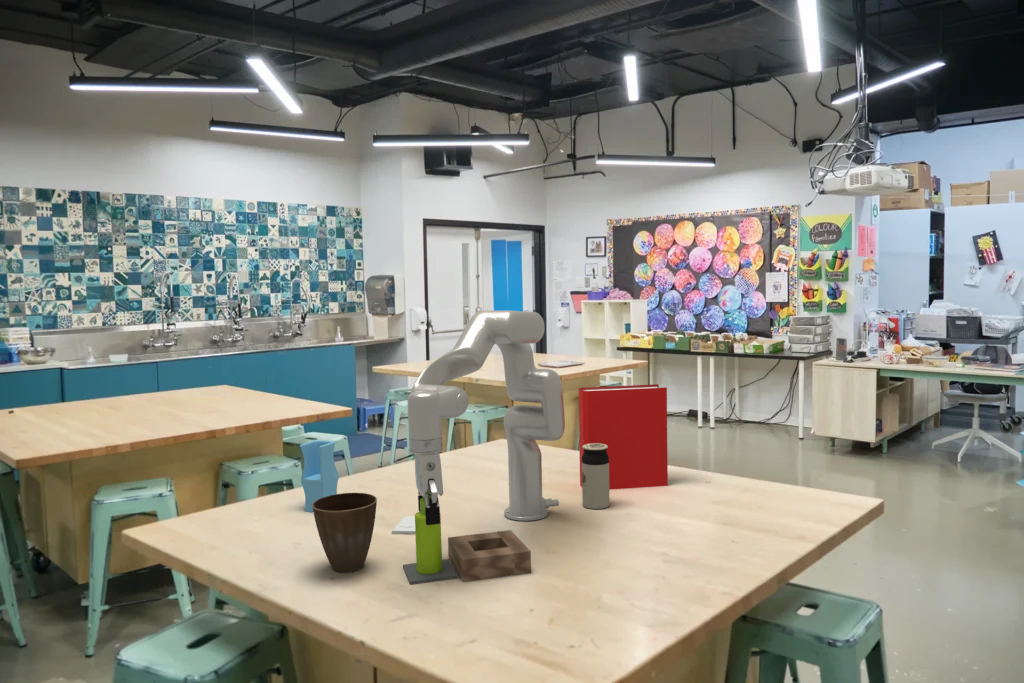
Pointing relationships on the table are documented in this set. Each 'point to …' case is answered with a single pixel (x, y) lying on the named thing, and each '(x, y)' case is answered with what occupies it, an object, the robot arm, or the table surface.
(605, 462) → the travel mug
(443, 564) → the rubber mat
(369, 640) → the table surface
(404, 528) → the external hard drive
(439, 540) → the soap dispenser
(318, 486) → the light blue angular piece
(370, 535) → the plant pot
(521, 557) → the socket block
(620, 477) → the book
